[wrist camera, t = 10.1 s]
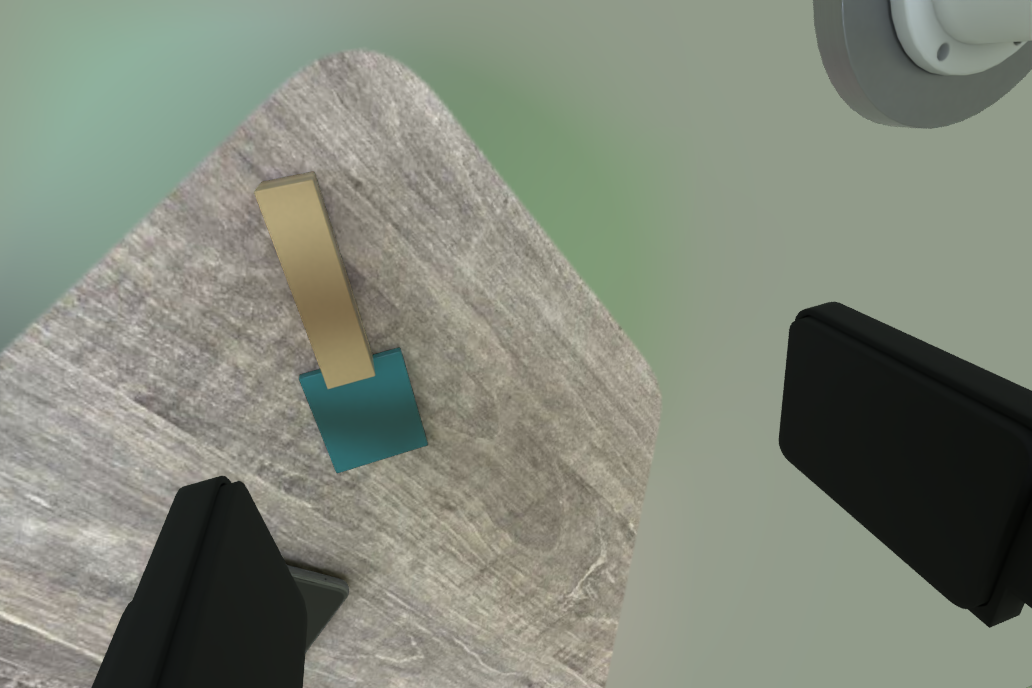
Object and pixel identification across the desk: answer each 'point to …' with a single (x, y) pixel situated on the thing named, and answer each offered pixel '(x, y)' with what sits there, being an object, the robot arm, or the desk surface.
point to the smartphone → (319, 599)
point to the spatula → (338, 335)
